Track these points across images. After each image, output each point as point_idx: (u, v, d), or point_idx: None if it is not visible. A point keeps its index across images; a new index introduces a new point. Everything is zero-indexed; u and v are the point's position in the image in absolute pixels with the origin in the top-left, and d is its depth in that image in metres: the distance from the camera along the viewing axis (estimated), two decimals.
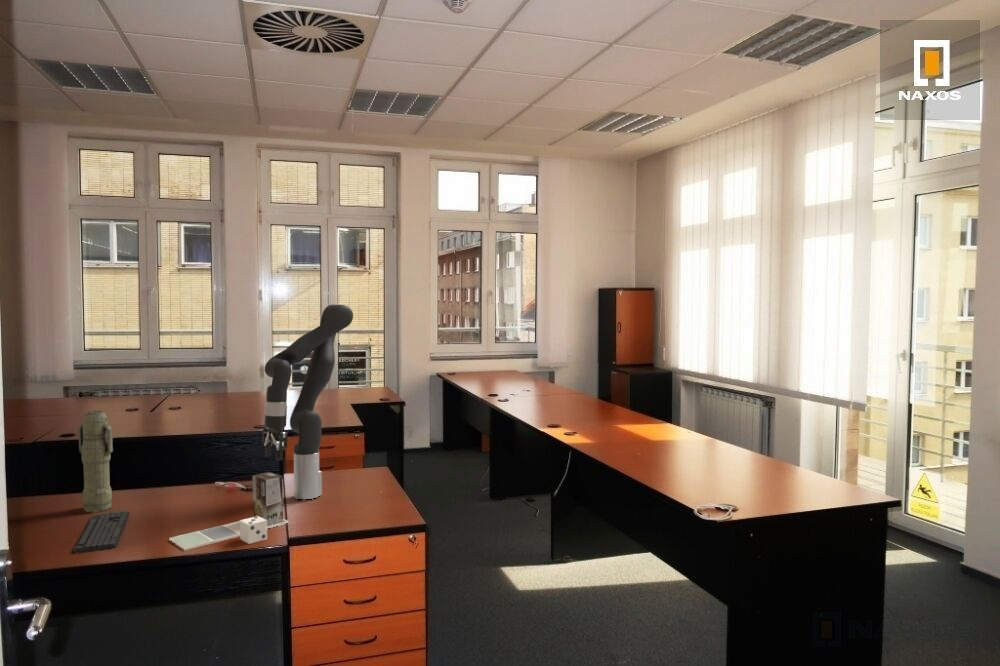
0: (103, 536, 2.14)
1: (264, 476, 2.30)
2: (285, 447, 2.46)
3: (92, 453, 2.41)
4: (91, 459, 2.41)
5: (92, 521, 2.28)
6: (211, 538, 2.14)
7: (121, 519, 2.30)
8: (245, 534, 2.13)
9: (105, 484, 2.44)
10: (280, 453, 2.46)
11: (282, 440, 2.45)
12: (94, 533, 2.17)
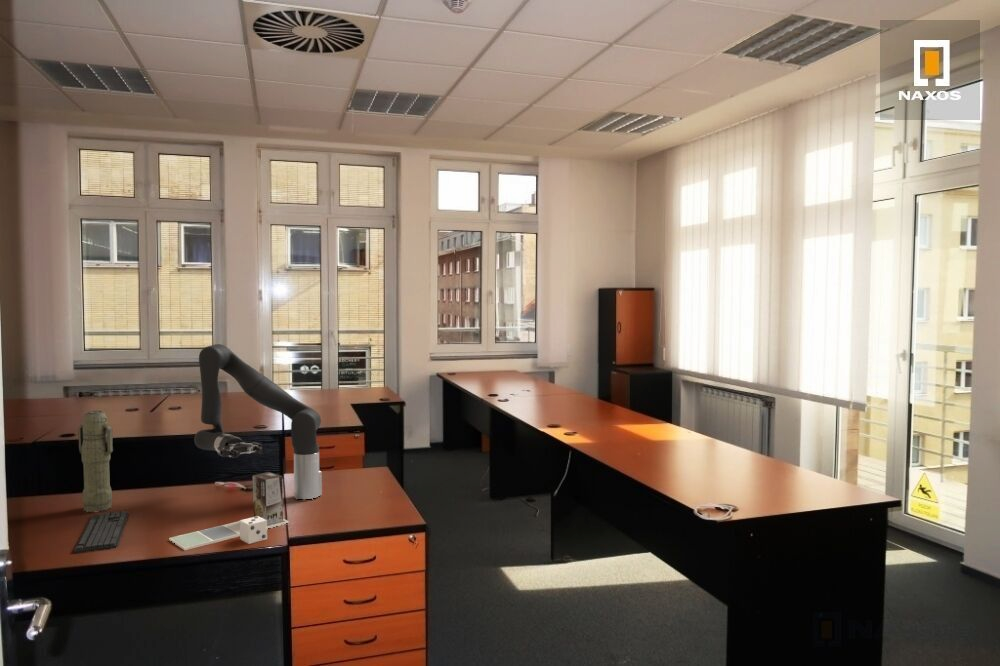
0: (103, 536, 2.14)
1: (264, 476, 2.30)
2: (223, 451, 2.38)
3: (92, 453, 2.41)
4: (91, 459, 2.41)
5: (92, 521, 2.28)
6: (211, 538, 2.14)
7: (121, 519, 2.30)
8: (245, 534, 2.13)
9: (105, 484, 2.44)
10: (231, 454, 2.38)
11: (220, 454, 2.40)
12: (94, 533, 2.17)
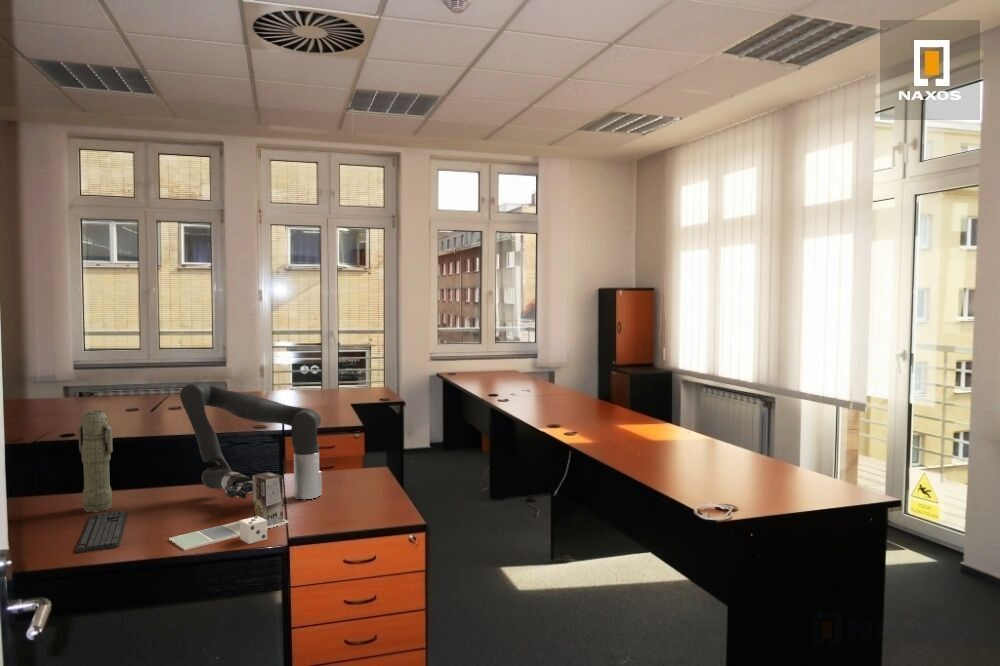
0: (104, 536, 2.14)
1: (264, 476, 2.30)
2: (230, 492, 2.35)
3: (92, 453, 2.41)
4: (91, 459, 2.41)
5: (91, 521, 2.28)
6: (211, 538, 2.14)
7: (120, 519, 2.30)
8: (245, 534, 2.13)
9: (105, 484, 2.44)
10: (238, 495, 2.35)
11: (227, 494, 2.37)
12: (95, 533, 2.17)
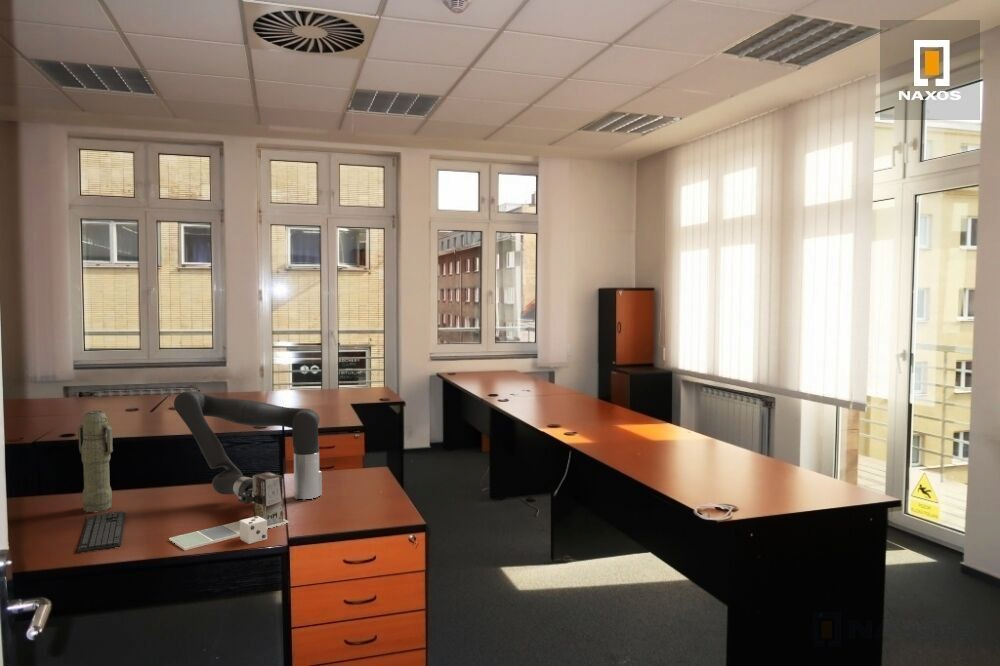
0: (105, 536, 2.14)
1: (264, 476, 2.30)
2: (246, 498, 2.28)
3: (92, 453, 2.41)
4: (91, 459, 2.41)
5: (90, 521, 2.28)
6: (211, 538, 2.14)
7: (119, 519, 2.30)
8: (245, 534, 2.13)
9: (105, 484, 2.44)
10: (254, 501, 2.28)
11: (242, 500, 2.30)
12: (95, 533, 2.17)
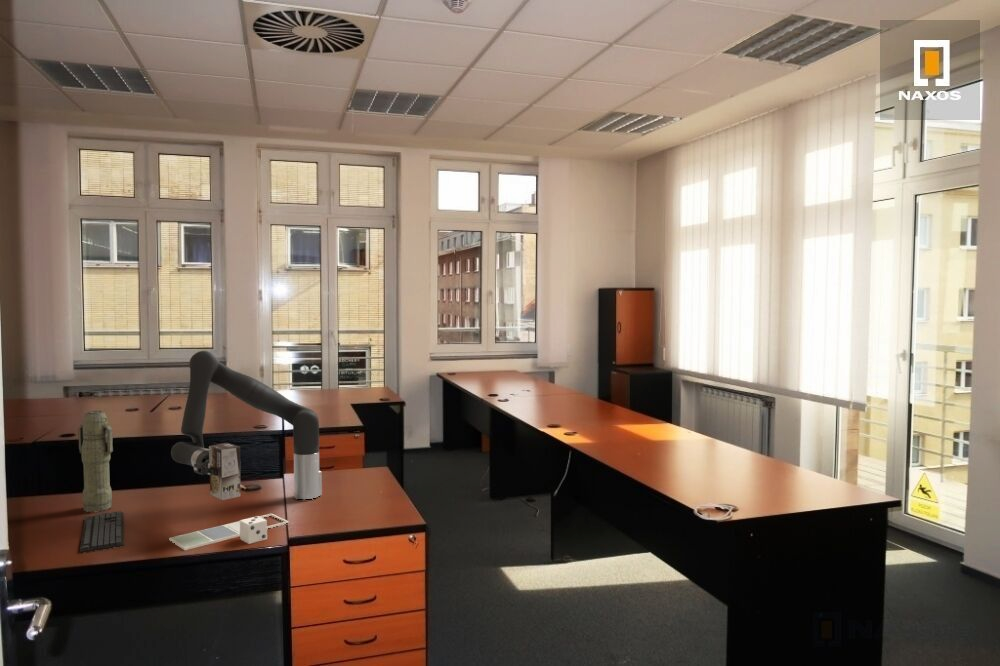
0: (106, 535, 2.15)
1: (221, 446, 2.19)
2: (201, 469, 2.18)
3: (92, 453, 2.41)
4: (91, 459, 2.41)
5: (88, 522, 2.27)
6: (211, 538, 2.14)
7: (118, 519, 2.30)
8: (245, 534, 2.13)
9: (105, 484, 2.44)
10: (210, 472, 2.18)
11: (197, 471, 2.20)
12: (96, 533, 2.17)
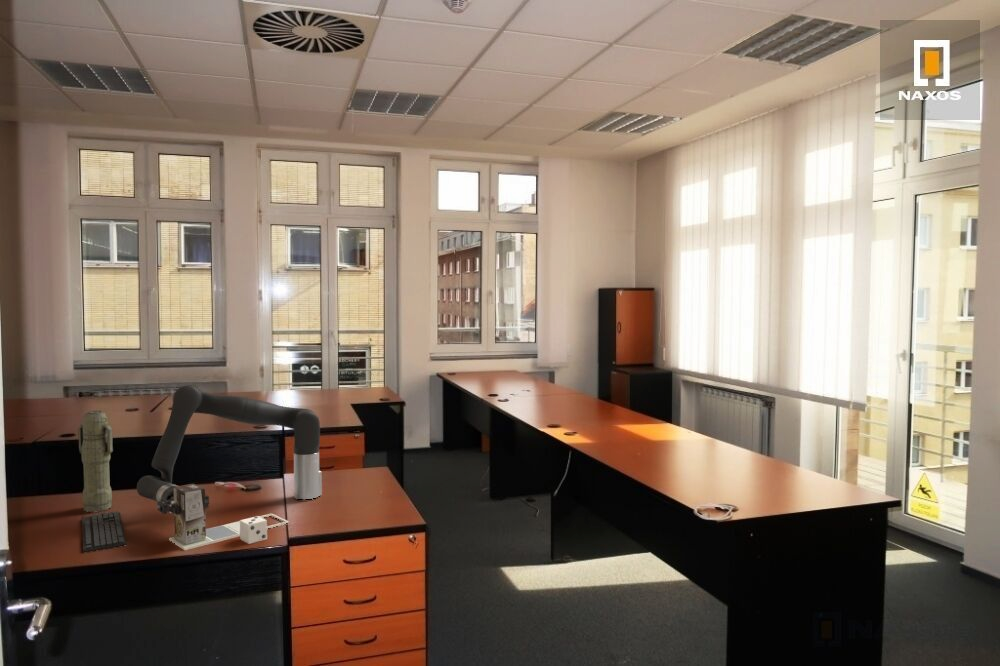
0: (108, 535, 2.15)
1: (185, 488, 2.12)
2: (162, 507, 2.10)
3: (92, 453, 2.41)
4: (91, 459, 2.41)
5: (86, 522, 2.27)
6: (211, 538, 2.14)
7: (117, 519, 2.30)
8: (245, 534, 2.13)
9: (105, 484, 2.44)
10: (171, 511, 2.10)
11: (159, 509, 2.12)
12: (96, 533, 2.17)
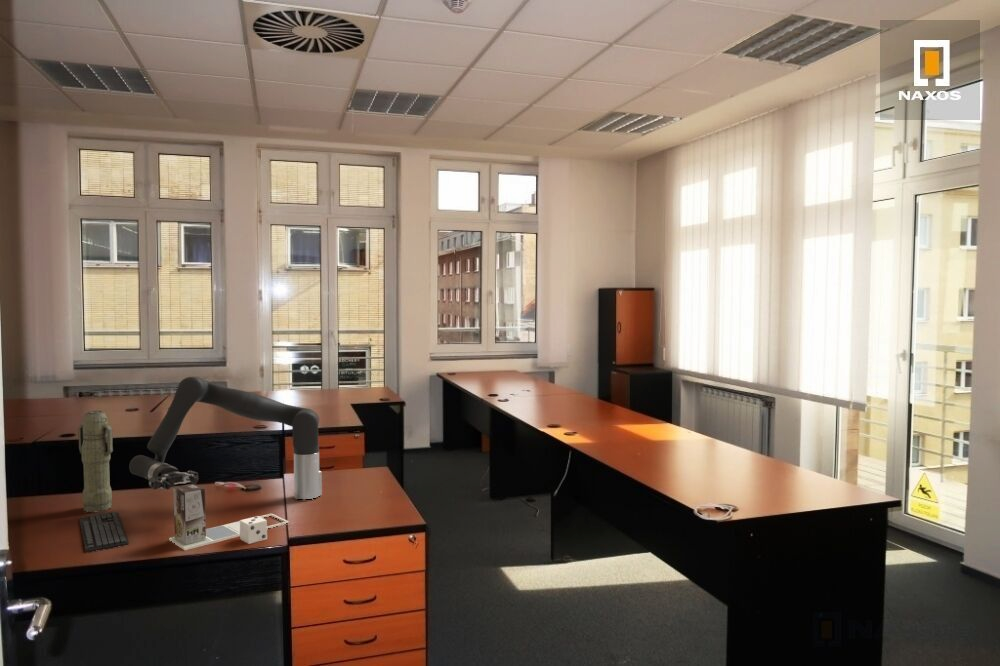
0: (109, 535, 2.15)
1: (185, 488, 2.12)
2: (153, 483, 2.22)
3: (92, 453, 2.41)
4: (91, 459, 2.41)
5: (85, 523, 2.27)
6: (211, 538, 2.14)
7: (115, 519, 2.30)
8: (245, 534, 2.13)
9: (105, 484, 2.44)
10: (162, 486, 2.22)
11: (151, 485, 2.24)
12: (97, 533, 2.17)
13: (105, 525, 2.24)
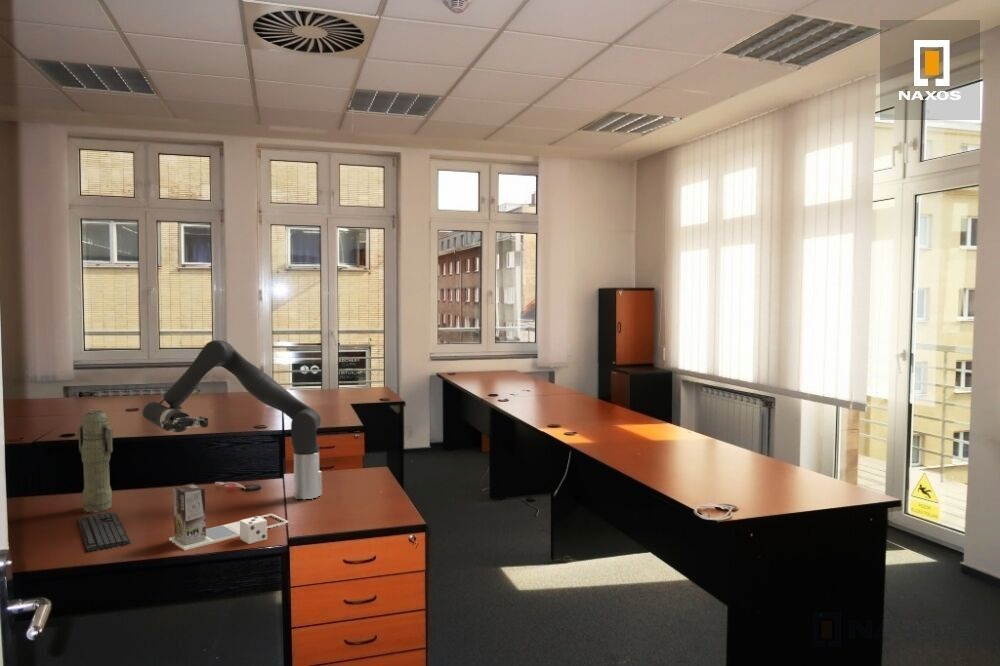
0: (110, 535, 2.15)
1: (185, 488, 2.12)
2: (166, 425, 2.32)
3: (92, 453, 2.41)
4: (91, 459, 2.41)
5: (84, 523, 2.26)
6: (211, 538, 2.14)
7: (115, 519, 2.30)
8: (245, 534, 2.13)
9: (105, 484, 2.44)
10: (174, 428, 2.32)
11: (163, 427, 2.34)
12: (97, 533, 2.17)
13: (105, 525, 2.24)
